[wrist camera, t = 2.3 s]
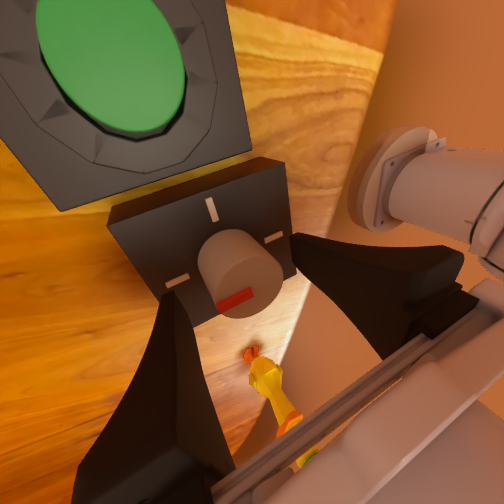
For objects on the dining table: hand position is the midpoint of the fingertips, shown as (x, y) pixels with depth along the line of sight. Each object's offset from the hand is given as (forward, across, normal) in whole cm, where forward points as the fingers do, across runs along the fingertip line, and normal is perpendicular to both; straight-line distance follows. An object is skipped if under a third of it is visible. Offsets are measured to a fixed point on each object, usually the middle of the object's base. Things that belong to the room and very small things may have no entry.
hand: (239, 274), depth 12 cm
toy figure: (+5, +1, +16) cm, 17 cm away
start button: (+1, +1, -10) cm, 10 cm away
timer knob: (+2, 0, 0) cm, 2 cm away
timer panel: (+5, 0, 0) cm, 5 cm away
